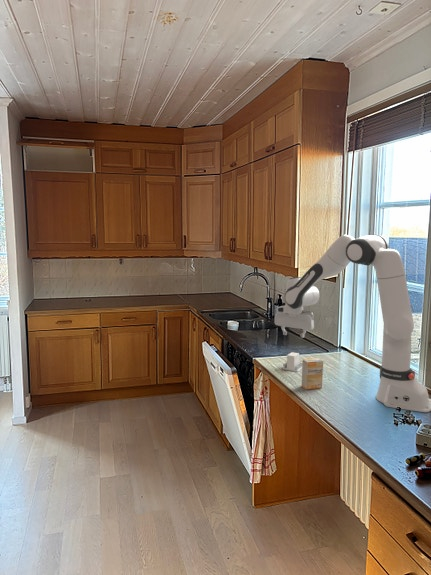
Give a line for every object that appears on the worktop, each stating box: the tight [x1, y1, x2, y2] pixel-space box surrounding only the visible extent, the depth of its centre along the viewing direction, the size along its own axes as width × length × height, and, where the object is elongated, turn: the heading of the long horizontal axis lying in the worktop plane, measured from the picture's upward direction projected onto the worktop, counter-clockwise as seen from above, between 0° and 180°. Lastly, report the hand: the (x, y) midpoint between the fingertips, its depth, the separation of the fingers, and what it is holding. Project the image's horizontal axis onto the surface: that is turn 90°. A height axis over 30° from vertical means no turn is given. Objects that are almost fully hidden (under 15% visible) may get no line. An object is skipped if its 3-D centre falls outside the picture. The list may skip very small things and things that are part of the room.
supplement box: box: [301, 357, 324, 390], centre depth 203 cm, size 8×5×13 cm, turn 105°
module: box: [286, 351, 300, 370], centre depth 229 cm, size 4×6×7 cm, turn 146°
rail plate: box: [282, 361, 302, 373], centre depth 229 cm, size 8×7×3 cm
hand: (293, 336), depth 227 cm, fingers open, 8 cm apart
